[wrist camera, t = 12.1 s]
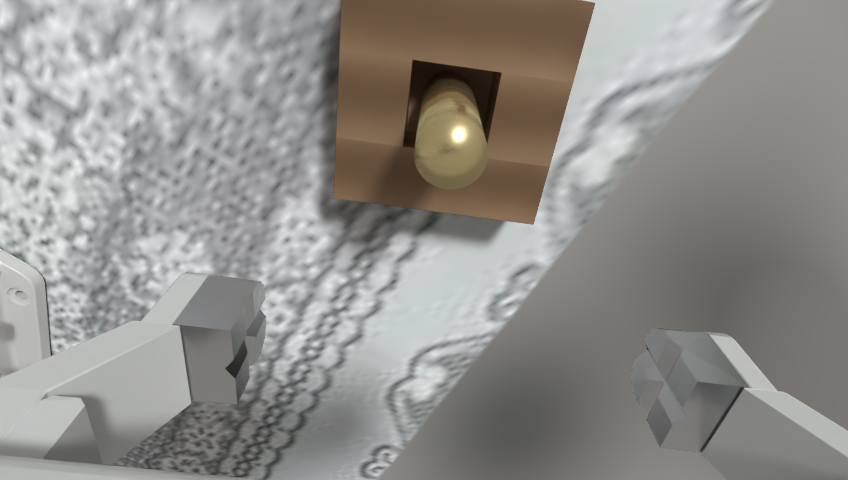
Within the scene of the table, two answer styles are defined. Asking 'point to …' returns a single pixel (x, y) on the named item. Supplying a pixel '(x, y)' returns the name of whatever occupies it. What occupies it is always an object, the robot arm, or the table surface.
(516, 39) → the socket block
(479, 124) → the pin
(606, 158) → the table surface
